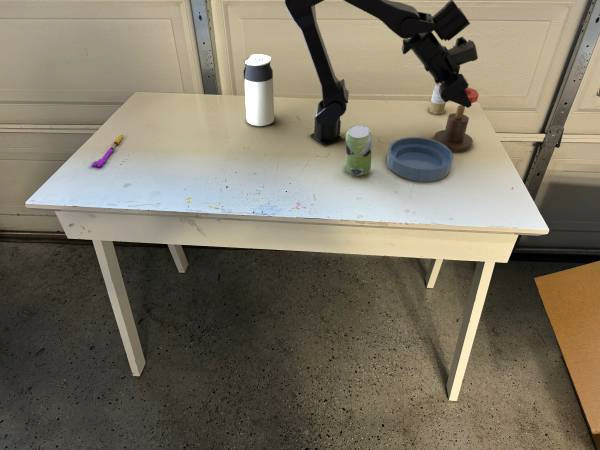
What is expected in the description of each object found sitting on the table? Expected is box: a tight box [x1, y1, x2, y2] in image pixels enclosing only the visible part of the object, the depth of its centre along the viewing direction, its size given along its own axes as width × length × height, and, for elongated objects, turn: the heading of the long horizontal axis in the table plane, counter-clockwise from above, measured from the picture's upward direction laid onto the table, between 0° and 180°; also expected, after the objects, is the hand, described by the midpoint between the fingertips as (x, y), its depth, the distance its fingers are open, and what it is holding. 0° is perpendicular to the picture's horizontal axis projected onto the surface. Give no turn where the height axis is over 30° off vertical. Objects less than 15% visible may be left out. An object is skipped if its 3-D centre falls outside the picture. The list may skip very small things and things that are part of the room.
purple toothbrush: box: [91, 134, 124, 168], centre depth 116 cm, size 3×1×16 cm
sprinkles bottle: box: [428, 81, 447, 115], centre depth 132 cm, size 5×5×14 cm
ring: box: [465, 86, 480, 105], centre depth 111 cm, size 7×7×2 cm
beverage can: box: [345, 124, 373, 176], centre depth 106 cm, size 6×7×12 cm
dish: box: [386, 136, 454, 182], centre depth 111 cm, size 16×16×4 cm
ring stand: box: [433, 104, 474, 154], centre depth 118 cm, size 10×10×11 cm
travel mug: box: [243, 53, 275, 127], centre depth 125 cm, size 8×8×18 cm
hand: (467, 100), depth 112 cm, fingers closed on ring, 7 cm apart
